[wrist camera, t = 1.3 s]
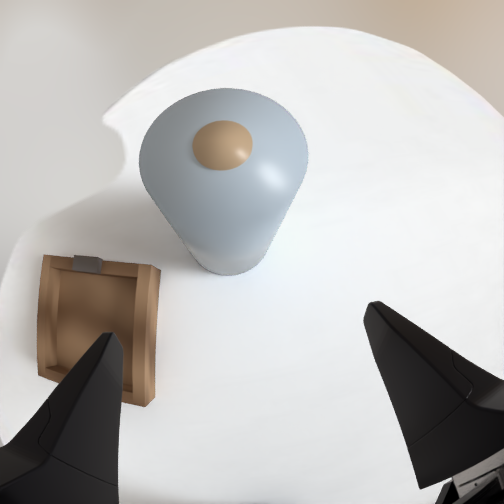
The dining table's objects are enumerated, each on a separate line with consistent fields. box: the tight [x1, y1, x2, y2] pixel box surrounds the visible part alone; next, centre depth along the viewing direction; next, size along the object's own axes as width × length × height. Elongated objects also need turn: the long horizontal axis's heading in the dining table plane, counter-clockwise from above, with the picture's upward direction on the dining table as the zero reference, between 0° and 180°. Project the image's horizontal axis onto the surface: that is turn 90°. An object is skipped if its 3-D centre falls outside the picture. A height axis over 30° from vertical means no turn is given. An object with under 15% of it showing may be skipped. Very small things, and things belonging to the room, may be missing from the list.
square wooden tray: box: [37, 255, 161, 407], centre depth 19 cm, size 11×11×4 cm
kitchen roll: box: [139, 88, 308, 276], centre depth 17 cm, size 7×7×13 cm
